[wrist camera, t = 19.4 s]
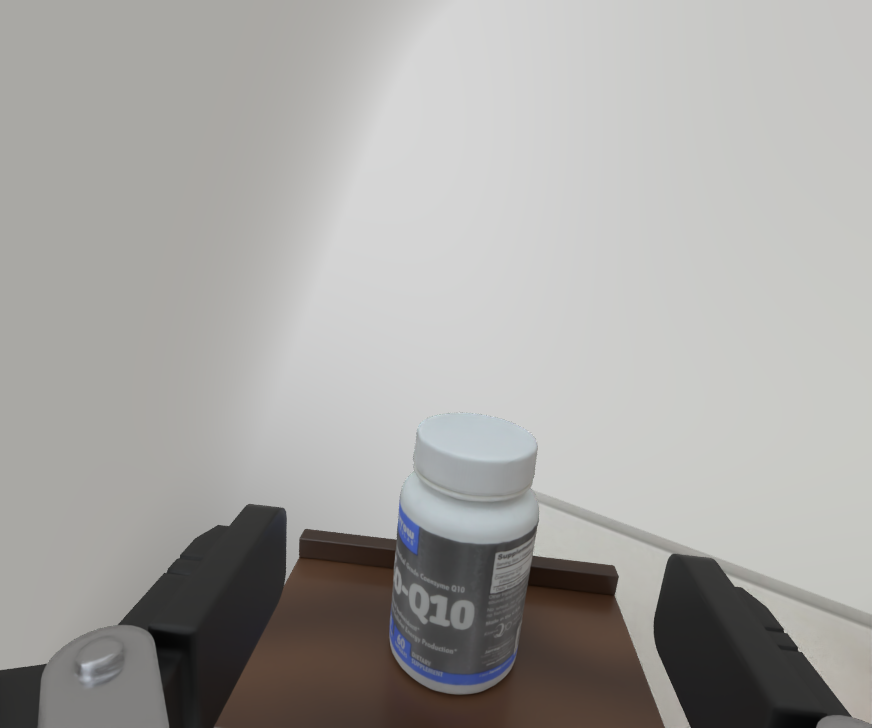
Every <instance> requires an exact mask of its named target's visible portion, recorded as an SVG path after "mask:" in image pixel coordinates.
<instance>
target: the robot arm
mask: <svg viewBox="0 0 872 728" xmlns="http://www.w3.org/2000/svg"><path fill="white" fill-rule="evenodd" d="M286 522H287V518H286V511H285V509H284V508H279V507H271V506H263V505H254V504H248V505H247V506H246V507H245V508H244V509H243V510H242V511H241V512H240V514H239V515H238V516H237V517H236V519H235V520H234V521H233V522H232V523H231V525H230V526H221V525H217V526H216V527H214V528H212V529H211V530H209V531H207V532H205V533H204V534H202V535H200V536H199V537H197V538H195V539H194V541H193V542H192V543H191V544H190V545H189V546H188V547H187V548H186V549H185V551H184V552H183V553H182V554H181V555H180V558H179V559H177V560H176V561H175V562H174V563H173V564H172V565H171V566H170V567H169V568H168V571H167V573H164V574H163V575H162V576H161V577H160V578H159V580H158V581H157V582H156V583H155V584H154V585H153V586H152V587H151V588H150V590H149V591H148V592H147V593H146V594H145V595H144V596H143V597H142V599H141V600H140V601H139V602H138V603H137V604H136V605H135V606H134V607H133V609H132V610H131V611H130V612H129V613H128V614H127V615H126V616H125V617H124V619H123V620H122V621H121V622H120V623H119V624H118V625H115V626H109V627H104V628H100V629H97V630H94V631H91V632H89V633H86V634H84V635H82V636H80V637H78V638H76V639H74V640H73V641H71V642H70V643H68V644H67V645H65V646H64V647H63V648H61V650H59V651H58V652H57V653H56V654H55V655H54V656H53V657H52V658H51V660H50V661H49V662H48V664H43V665H37V666H29V667H21V668H14V669H7V670H0V728H214V726H215V724H216V722H217V720H218V718H219V716H220V714H221V712H222V710H223V709H224V707H225V705H226V703H227V701H228V699H229V697H230V695H231V693H232V691H233V689H234V687H235V685H236V684H237V682H238V680H239V678H240V676H241V674H242V672H243V670H244V668H245V666H246V664H247V662H248V660H249V659H250V657H251V655H252V653H253V651H254V649H255V647H256V645H257V643H258V641H259V639H260V637H261V635H262V634H263V632H264V630H265V628H266V626H267V624H268V622H269V620H270V618H271V616H272V614H273V612H274V610H275V609H276V607H277V605H278V603H279V600H280V597H281V594H282V591H283V587H284V582H285V575H286V524H287V523H286ZM654 638H655V644H656V648H657V651H658V654H659V656H660V658H661V660H662V663H663V665H664V667H665V670H666V672H667V674H668V676H669V679H670V681H671V683H672V686H673V688H674V690H675V692H676V695H677V697H678V699H679V702H680V704H681V706H682V708H683V711H684V713H685V715H686V718H687V720H688V722H689V725H690V727H691V728H872V724H869V723H867V722H864V721H862V720H859V719H856V718H852V716H851V715H850V714H849V713H848V711H847V710H846V709H845V707H844V706H843V705H842V703H841V702H840V701H839V700H838V698H837V697H836V696H835V694H834V693H833V692H832V691H831V689H830V688H829V687H828V685H827V684H826V683H825V682H824V680H823V679H822V678H821V676H820V675H819V674H818V673H817V671H816V670H815V669H814V667H813V666H812V665H811V664H810V662H809V661H808V660H807V658H806V657H805V656H804V655H803V653H802V652H798V647H797V646H796V644H795V643H794V642H793V640H792V639H791V638H790V637H789V635H788V634H787V633H784V629H783V628H782V626H781V625H780V624H779V622H778V621H777V620H776V619H775V617H774V616H773V615H772V613H771V612H770V611H769V610H768V608H767V607H766V606H765V605H763V604H762V603H761V602H759V601H758V600H757V599H756V598H754V597H753V596H752V595H751V594H749V593H748V592H747V591H745V590H744V589H743V588H741V587H734V585H733V584H732V583H731V581H730V580H729V578H728V577H727V576H726V574H725V573H724V572H723V570H722V569H721V567H720V566H719V565H718V563H717V562H716V561H715V560H714V559H712V558H706V557H697V556H689V555H680V554H672V555H671V556H670V557H669V559H668V561H667V565H666V569H665V573H664V578H663V582H662V586H661V591H660V595H659V599H658V604H657V608H656V612H655V617H654Z"/></svg>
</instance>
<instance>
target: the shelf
mask: <svg viewBox="0 0 872 728" xmlns="http://www.w3.org/2000/svg"><path fill="white" fill-rule="evenodd" d="M299 541H300V542H299V559H298V561H297V563H296V565H295V566H294V568H293V570H292V572H291V574H290V576H289V578H288V579H287V581H286V584H285V585H284V587H283V591H282V594H281V597H280V600H279V603H278V605H277V607H276V609H275V610H274V612H273V614H272V616H271V618H270V620H269V622H268V624H267V626H266V628H265V630H264V632H263V634H262V635H261V637H260V639H259V641H258V643H257V645H256V647H255V649H254V651H253V653H252V655H251V657H250V659H249V660H248V662H247V664H246V666H245V668H244V670H243V672H242V674H241V676H240V678H239V680H238V682H237V684H236V685H235V687H234V689H233V691H232V693H231V695H230V697H229V699H228V701H227V703H226V705H225V707H224V709H223V710H222V712H221V714H220V716H219V718H218V720H217V722H216V724H215V726H214V728H665V727H664V724H663V721H662V719H661V716H660V714H659V711H658V708H657V706H656V703H655V700H654V698H653V695H652V693H651V690H650V687H649V685H648V682H647V679H646V677H645V674H644V672H643V669H642V666H641V664H640V661H639V658H638V656H637V653H636V651H635V648H634V645H633V643H632V640H631V637H630V635H629V632H628V630H627V627H626V624H625V622H624V619H623V616H622V614H621V611H620V608H619V606H618V603H617V601H616V598H615V592H616V587H617V582H618V577H619V576H618V574H617V571H616V569H615V566H613V565H605V564H597V563H588V562H580V561H572V560H563V559H555V558H546V557H538V556H532V562H531V567H530V574H529V580H528V585H527V592H526V597H525V604H524V611H523V617H522V624H521V631H520V636H519V643H518V649H517V654H516V658H515V662H514V664H513V666H512V668H511V670H510V671H509V673H508V674H507V675H506V676H505V677H504V678H503V679H502V680H501V681H500V682H498V683H497V684H496V685H494V686H492V687H490V688H488V689H486V690H484V691H481V692H478V693H473V694H463V695H456V694H448V693H443V692H439V691H435V690H432V689H430V688H428V687H426V686H424V685H422V684H421V683H419V682H418V681H416V680H415V679H414V678H412V677H411V676H410V675H409V674H408V673H407V672H406V671H405V670H403V669H402V667H401V666H400V664H399V663H398V662H397V660H396V658H395V657H394V655H393V653H392V649H391V646H390V636H389V632H390V616H391V604H392V593H393V579H394V565H395V554H396V545H397V540H394V539H386V538H378V537H369V536H360V535H352V534H344V533H336V532H327V531H319V530H310V529H305V530H304V532H303V533H302V535H301V537H300V540H299Z"/></svg>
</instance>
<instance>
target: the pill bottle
mask: <svg viewBox="0 0 872 728" xmlns="http://www.w3.org/2000/svg"><path fill="white" fill-rule="evenodd" d="M537 449H538V446H537V441H536V439H535V437H534V436H533V435H532V434H531V433H530V432H528V431H527V430H526V429H524V428H522V427H520V426H518V425H516V424H514V423H512V422H509V421H506V420H503V419H500V418H496V417H492V416H487V415H482V414H473V413H447V414H440V415H435V416H432V417H429V418H427V419H425V420H424V421H422V422H421V423H420V425H419V426H418V429H417V433H416V443H415V450H414V456H413V461H414V471H413V472H412V473H411V474H410V475H409V476H408V478H407V479H406V480H405V482H404V484H403V486H402V490H401V494H400V503H399V519H398V528H397V545H396V554H395V565H394V579H393V593H392V604H391V616H390V632H389V636H390V646H391V649H392V653H393V655H394V657H395V658H396V660H397V662H398V663H399V664H400V666H401V667H402V669H403V670H405V671H406V672H407V673H408V674H409V675H410V676H411V677H412V678H414V679H415V680H416V681H418V682H419V683H421V684H422V685H424V686H426V687H428V688H430V689H432V690H435V691H439V692H443V693H448V694H456V695H463V694H473V693H478V692H481V691H484V690H486V689H488V688H490V687H492V686H494V685H496V684H497V683H498V682H500V681H501V680H502V679H503V678H504V677H505V676H506V675H507V674H508V673H509V671H510V670H511V668H512V666H513V664H514V662H515V658H516V654H517V649H518V643H519V636H520V631H521V624H522V617H523V611H524V604H525V597H526V592H527V585H528V580H529V574H530V567H531V562H532V556H533V549H534V543H535V537H536V532H537V525H538V522H539V505H538V501H537V498H536V496H535V494H534V492H533V490H532V489H531V488H530V487H531V486H532V481H533V478H534V474H535V464H536V456H537Z"/></svg>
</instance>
